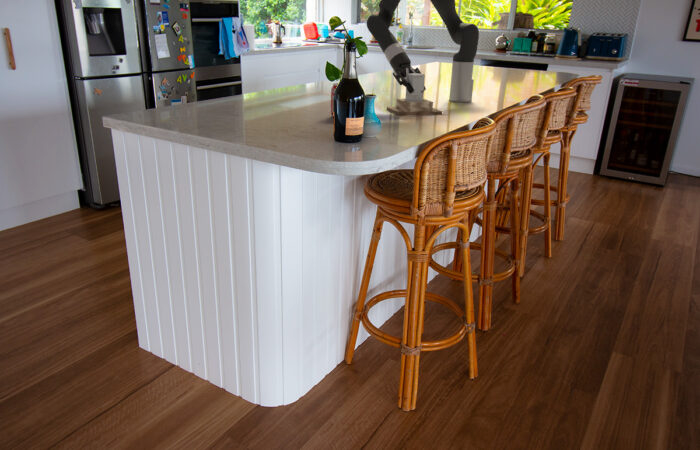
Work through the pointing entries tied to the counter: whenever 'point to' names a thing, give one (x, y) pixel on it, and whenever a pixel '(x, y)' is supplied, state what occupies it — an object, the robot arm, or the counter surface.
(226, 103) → the counter surface
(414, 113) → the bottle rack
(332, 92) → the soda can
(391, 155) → the counter surface
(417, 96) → the skincare box
